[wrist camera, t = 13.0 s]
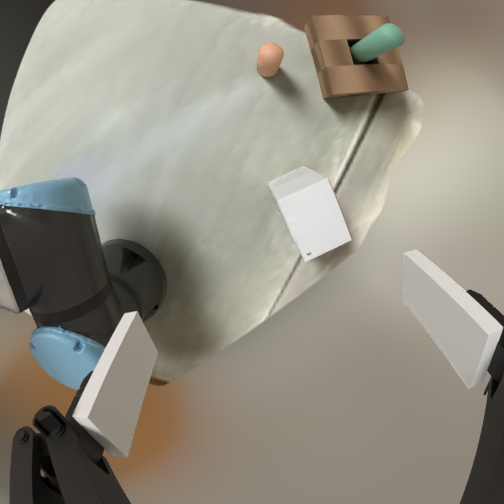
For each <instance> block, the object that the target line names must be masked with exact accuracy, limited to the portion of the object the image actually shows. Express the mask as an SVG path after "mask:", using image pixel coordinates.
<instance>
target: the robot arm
mask: <svg viewBox="0 0 504 504" xmlns="http://www.w3.org/2000/svg"><path fill="white" fill-rule="evenodd" d="M95 215H96V214H95V211H94V210H93V208H92V205H91V201H90V197H89V193H88V189H87V186H86V184H85V183H84V182H83V181H82V180H81V179H79V178H75V177H72V178H63V179H57V180H50V181H44V182H39V183H34V184H29V185H24V186H20V187H15V188H11V189H6V190H1V191H0V309H5V310H8V311H10V312H12V313H15V314H19V313H21V312H22V311H24V310H26V309H28V308H29V309H30V312H31V314H32V316H33V318H34V321H35V323H36V325H37V329H35V330H34V331H33V332H32V336H31V339H30V340H31V342H30V349H31V352H32V354H33V356H34V358H35V359H36V361H37V363H38V364H39V365H40V366H41V367H42V368H43V370H45V371H46V372H47V373H48V374H49V375H50V376H51V377H53V378H54V379H55V380H57V381H59V382H60V383H62V384H64V385H66V386H68V387H70V388H72V389H75V390H78V391H77V393H76V396H75V397H74V399H73V401H72V403H71V405H70V407H69V410H68V412H67V414H66V416H65V418H64V416H63V415H62V414H61V413H60V412H59V411H58V410H57V409H56V407H54V406H45V407H43V408H41V409H40V410H39V411H38V412H37V413H36V414H35V416H34V418H33V425H34V426H35V427H36V428H37V429H38V430H39V431H40V432H41V433H38V434H37V433H36V432H34V430H32V428H30V427H28V426H27V427H23V428H20V429H19V430H18V431H17V432H16V434H15V435H14V438H13V445H12V455H11V468H10V504H131V503H130V501H129V500H128V498H127V496H126V494H125V493H124V491H123V489H122V488H121V486H120V484H119V482H118V480H117V479H116V477H115V475H114V473H113V471H112V469H111V467H110V465H109V463H108V461H107V460H106V458H105V457H104V456H103V455H102V454H103V451H104V449H105V450H106V451H107V452H108V453H110V455H112V456H116V457H126V458H127V457H128V454H129V450H130V446H131V442H132V439H133V435H134V431H135V428H136V424H137V421H138V417H139V414H140V410H141V407H142V404H143V400H144V397H145V394H146V390H147V387H148V384H149V381H150V377H151V374H152V371H153V368H154V365H155V362H156V358H157V355H158V351H157V349H156V347H155V345H154V343H153V341H152V339H151V338H150V336H149V334H148V332H147V330H146V328H145V326H144V324H143V323H144V322H145V321H146V320H148V319H149V318H150V317H152V316H153V315H154V314H155V313H156V312H157V311H158V309H159V308H160V306H161V304H162V301H163V299H164V297H165V293H166V278H165V274H164V271H163V269H162V267H161V265H160V263H159V262H158V260H157V259H156V258H155V257H154V256H153V254H152V253H151V252H149V251H148V250H147V249H146V248H144V247H143V246H141V245H139V244H137V243H135V242H132V241H129V240H123V239H115V240H110V241H107V242H105V243H103V244H101V242H100V237H99V233H98V229H97V224H96V220H95ZM402 292H403V293H402V301H403V302H404V303H405V305H406V306H407V307H408V308H409V309H410V311H411V312H412V313H413V314H414V316H415V317H416V318H417V320H418V321H419V322H420V323H421V325H422V326H423V327H424V328H425V330H426V331H427V332H428V334H429V335H430V336H431V338H432V339H433V340H434V342H435V343H436V344H437V346H438V347H439V348H440V349H441V351H442V352H443V354H444V355H445V356H446V358H447V359H448V361H449V362H450V363H451V365H452V366H453V368H454V369H455V370H456V372H457V373H458V375H459V376H460V378H461V379H462V380H463V382H464V383H465V385H466V386H467V388H468V389H470V388H472V387H474V386H475V385H477V384H479V383H481V382H483V380H484V377H485V375H486V372H487V371H488V372H489V373H490V375H491V379H490V381H489V383H488V385H487V387H486V389H485V391H484V395H486V393H487V391H488V396H487V403H486V410H485V415H484V421H483V426H482V431H481V435H480V440H479V444H478V448H477V452H476V456H475V459H474V463H473V466H472V469H471V473H470V476H469V479H468V482H467V485H466V488H465V491H464V494H463V496H462V499H461V502H460V504H504V316H503V315H502V314H501V313H500V312H499V311H498V310H497V309H496V308H495V307H493V305H491V304H490V302H488V301H487V300H486V299H485V298H484V297H483V296H482V295H481V294H479V293H477V292H475V291H472V290H468V291H465V290H464V289H463V288H461V287H460V286H459V285H458V284H457V283H456V282H455V281H453V280H452V279H451V278H450V277H449V276H447V275H446V274H445V273H444V272H443V271H442V270H441V269H439V268H438V267H437V266H436V265H435V264H433V263H432V262H431V261H430V260H429V259H427V258H426V257H425V256H424V255H422V254H421V253H420V252H419V251H417V250H413V251H409V252H405V253H403V291H402ZM40 469H41V470H42V471H43V472H44V475H45V476H44V477H42V476H41V474H40Z"/></svg>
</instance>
